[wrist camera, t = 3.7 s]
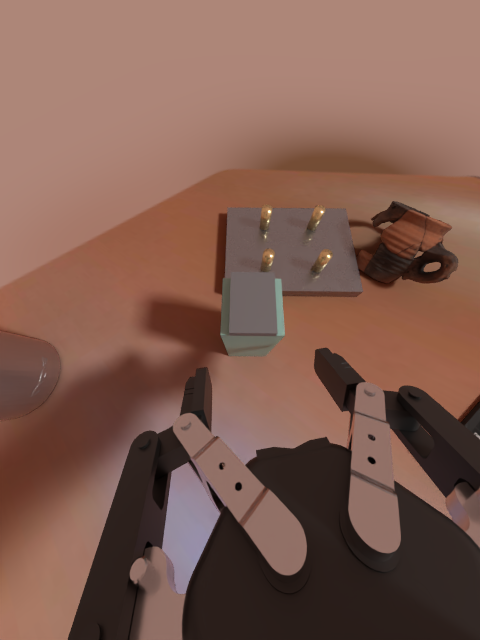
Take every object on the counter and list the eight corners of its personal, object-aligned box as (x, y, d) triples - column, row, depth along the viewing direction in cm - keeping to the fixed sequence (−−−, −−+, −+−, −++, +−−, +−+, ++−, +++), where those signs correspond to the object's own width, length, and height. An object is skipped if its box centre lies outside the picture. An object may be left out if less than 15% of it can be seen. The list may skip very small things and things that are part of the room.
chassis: (225, 295, 26) (222, 278, 22) (228, 215, 31) (226, 188, 27) (356, 296, 26) (378, 279, 22) (340, 216, 31) (357, 189, 26)
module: (228, 356, 24) (219, 332, 13) (229, 321, 25) (221, 271, 14) (265, 356, 24) (287, 333, 13) (264, 321, 25) (283, 272, 14)
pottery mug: (333, 253, 29) (375, 192, 24) (364, 253, 34) (404, 203, 29) (405, 307, 23) (485, 243, 18) (430, 298, 28) (498, 245, 23)
